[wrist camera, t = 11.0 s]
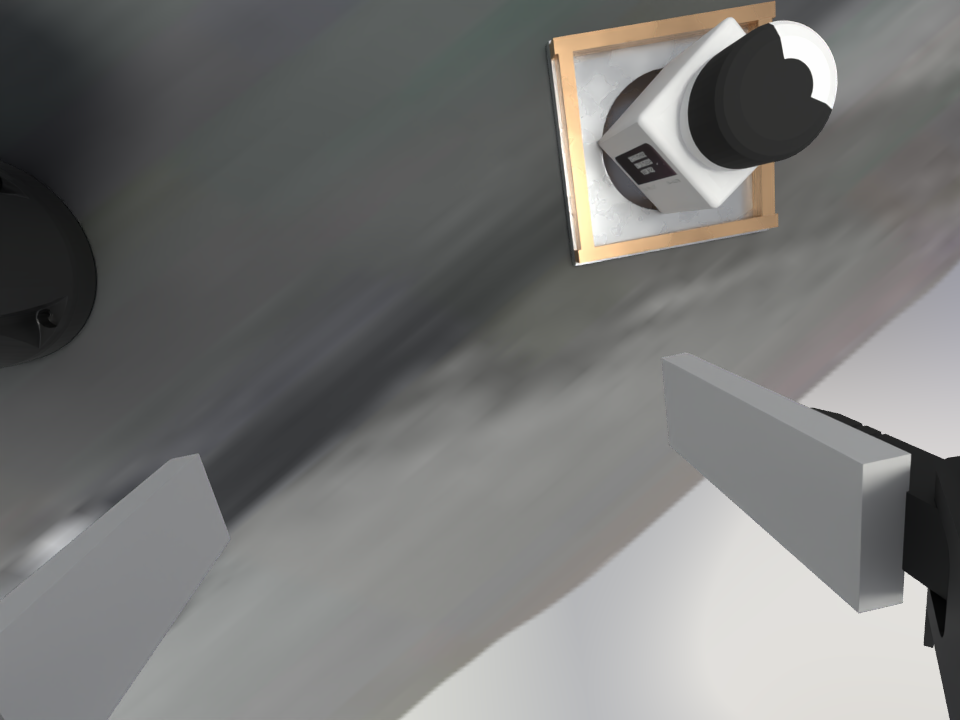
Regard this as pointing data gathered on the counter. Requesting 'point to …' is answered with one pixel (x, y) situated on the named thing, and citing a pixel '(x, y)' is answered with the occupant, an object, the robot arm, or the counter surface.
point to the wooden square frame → (599, 104)
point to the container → (724, 113)
